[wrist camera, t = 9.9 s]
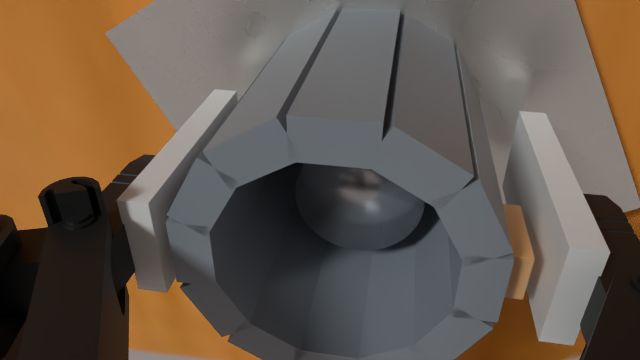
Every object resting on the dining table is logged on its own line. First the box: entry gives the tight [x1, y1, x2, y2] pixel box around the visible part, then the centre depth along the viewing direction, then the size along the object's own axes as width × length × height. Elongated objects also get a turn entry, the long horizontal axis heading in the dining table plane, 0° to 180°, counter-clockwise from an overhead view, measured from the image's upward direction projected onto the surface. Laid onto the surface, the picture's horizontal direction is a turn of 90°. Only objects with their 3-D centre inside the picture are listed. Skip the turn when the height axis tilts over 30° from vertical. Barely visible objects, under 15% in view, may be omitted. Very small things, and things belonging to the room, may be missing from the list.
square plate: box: [105, 0, 640, 250], centre depth 17 cm, size 14×14×6 cm
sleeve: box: [166, 8, 535, 360], centre depth 15 cm, size 8×8×8 cm
